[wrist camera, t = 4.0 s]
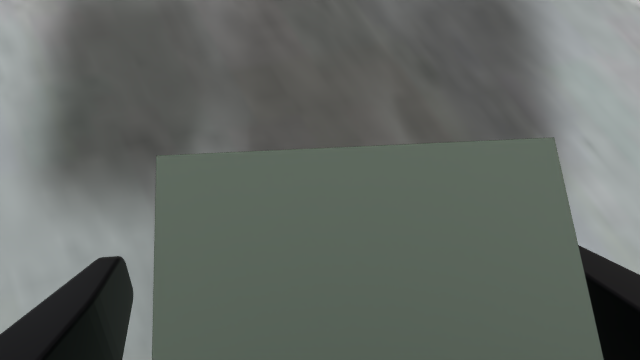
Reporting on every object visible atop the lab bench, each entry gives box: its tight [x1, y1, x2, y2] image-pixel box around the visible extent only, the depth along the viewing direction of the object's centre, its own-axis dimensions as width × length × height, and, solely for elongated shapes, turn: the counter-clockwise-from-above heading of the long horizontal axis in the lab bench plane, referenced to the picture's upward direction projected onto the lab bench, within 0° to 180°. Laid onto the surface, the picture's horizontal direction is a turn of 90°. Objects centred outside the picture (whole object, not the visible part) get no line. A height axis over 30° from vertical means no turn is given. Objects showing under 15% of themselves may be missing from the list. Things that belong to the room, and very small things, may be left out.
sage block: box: [152, 138, 604, 360], centre depth 10 cm, size 4×4×11 cm
